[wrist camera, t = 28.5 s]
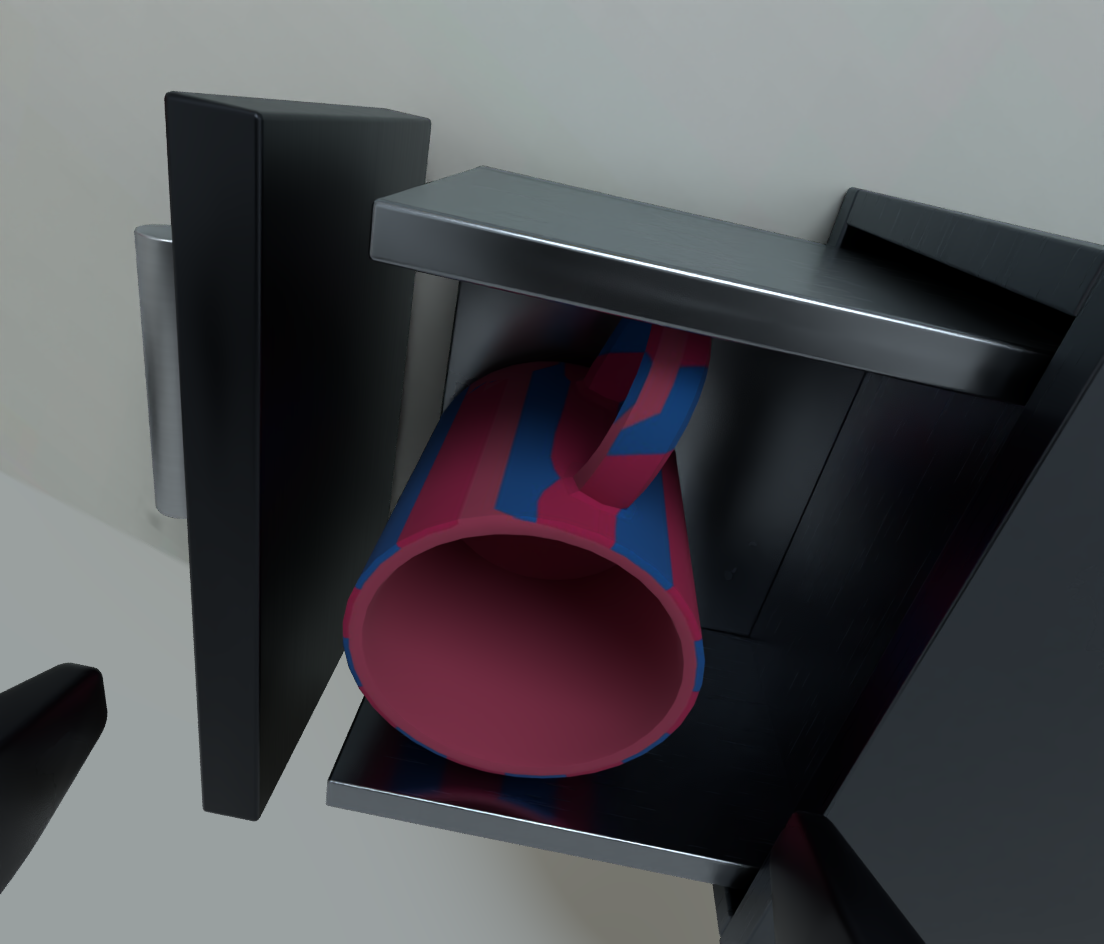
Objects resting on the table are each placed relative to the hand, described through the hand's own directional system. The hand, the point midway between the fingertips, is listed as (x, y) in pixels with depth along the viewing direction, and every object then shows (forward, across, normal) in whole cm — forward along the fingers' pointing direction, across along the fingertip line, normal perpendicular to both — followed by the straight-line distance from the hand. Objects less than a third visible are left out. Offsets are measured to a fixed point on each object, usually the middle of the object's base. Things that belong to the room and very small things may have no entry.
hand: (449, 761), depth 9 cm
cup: (+10, -1, -1) cm, 11 cm away
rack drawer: (+12, 0, 0) cm, 12 cm away
